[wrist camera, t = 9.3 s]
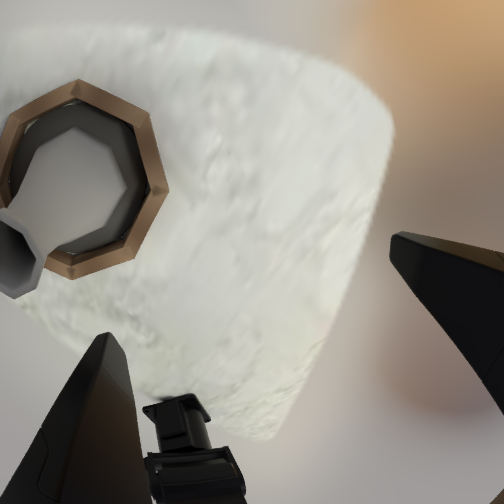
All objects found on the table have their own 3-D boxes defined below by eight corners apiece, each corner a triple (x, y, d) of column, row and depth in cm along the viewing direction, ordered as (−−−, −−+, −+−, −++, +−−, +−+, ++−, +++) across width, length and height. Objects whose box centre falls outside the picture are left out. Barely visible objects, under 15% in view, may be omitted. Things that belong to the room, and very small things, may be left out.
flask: (73, 256, 17) (35, 363, 9) (9, 184, 13) (-78, 252, 5) (147, 188, 17) (140, 266, 9) (79, 104, 13) (0, 102, 5)
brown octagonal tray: (182, 233, 20) (184, 242, 18) (41, 282, 17) (36, 293, 16) (137, 62, 13) (136, 57, 12) (-17, 137, 11) (-28, 140, 10)
